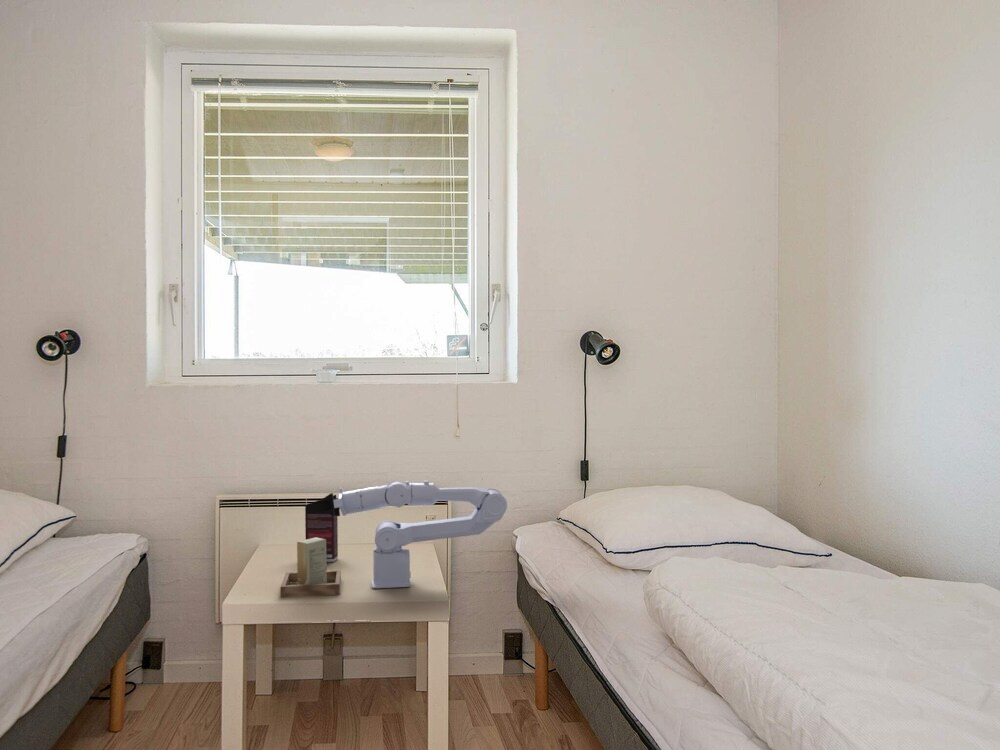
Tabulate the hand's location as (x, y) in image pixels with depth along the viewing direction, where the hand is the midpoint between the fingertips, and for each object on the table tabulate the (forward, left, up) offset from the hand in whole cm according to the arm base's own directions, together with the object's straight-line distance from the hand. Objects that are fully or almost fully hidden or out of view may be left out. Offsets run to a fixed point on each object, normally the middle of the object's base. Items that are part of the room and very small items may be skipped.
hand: (308, 509), depth 195 cm
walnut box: (-1, +1, -20) cm, 20 cm away
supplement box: (-2, -29, -20) cm, 35 cm away
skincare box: (-1, +1, -20) cm, 20 cm away
